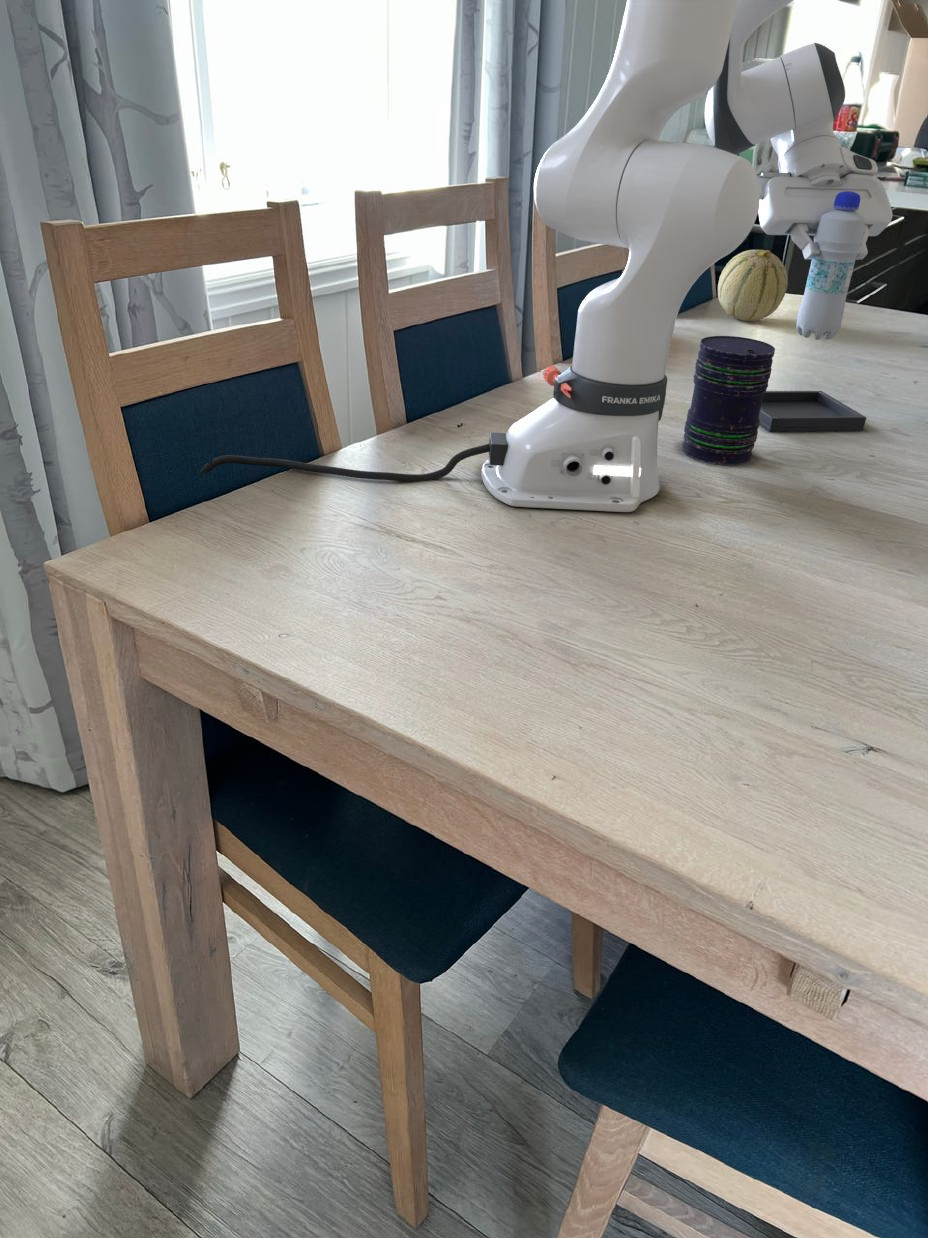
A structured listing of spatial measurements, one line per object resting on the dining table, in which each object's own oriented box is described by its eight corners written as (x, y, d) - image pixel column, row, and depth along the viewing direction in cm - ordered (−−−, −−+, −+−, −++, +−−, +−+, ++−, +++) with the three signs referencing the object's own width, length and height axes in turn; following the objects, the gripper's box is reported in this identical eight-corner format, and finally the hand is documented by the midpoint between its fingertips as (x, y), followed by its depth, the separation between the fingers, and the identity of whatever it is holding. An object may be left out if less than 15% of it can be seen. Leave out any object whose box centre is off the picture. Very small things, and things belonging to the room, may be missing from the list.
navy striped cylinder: (667, 443, 134) (685, 336, 126) (725, 438, 137) (746, 334, 130) (706, 468, 126) (728, 356, 118) (767, 462, 129) (791, 353, 122)
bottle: (841, 343, 138) (878, 195, 128) (794, 339, 139) (827, 191, 129) (835, 333, 144) (870, 190, 133) (790, 329, 145) (821, 186, 134)
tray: (769, 431, 141) (772, 418, 140) (730, 403, 152) (733, 390, 151) (863, 430, 144) (866, 417, 143) (818, 403, 155) (821, 390, 154)
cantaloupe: (738, 309, 217) (751, 240, 209) (792, 323, 207) (809, 251, 200) (697, 316, 209) (710, 244, 201) (753, 330, 199) (768, 255, 192)
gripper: (763, 156, 132) (786, 242, 129) (885, 161, 138) (910, 243, 135) (740, 187, 138) (761, 270, 135) (858, 190, 144) (882, 270, 141)
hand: (837, 256), depth 135 cm, fingers closed on bottle, 6 cm apart
